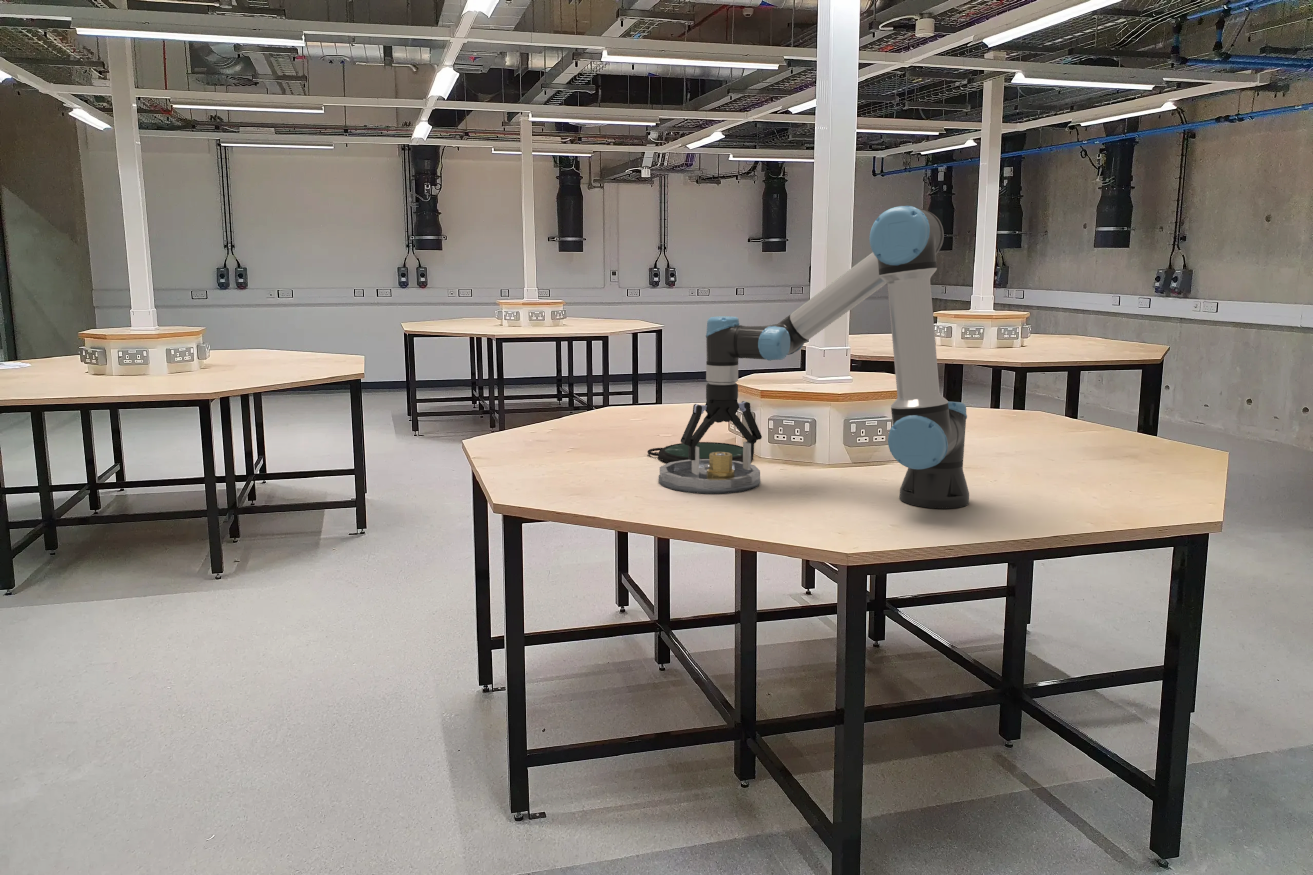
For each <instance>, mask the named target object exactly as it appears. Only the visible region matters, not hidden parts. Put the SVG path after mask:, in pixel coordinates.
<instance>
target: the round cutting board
mask: <svg viewBox="0 0 1313 875" xmlns="http://www.w3.org/2000/svg"><path fill="white" fill-rule="evenodd" d="M696 446H697V447H699V459H709V454H710V453H712V452H728V453H731V454H732V461H740V462H743V445H742V446H741V445H737V444H733V443H727V442H726V443H725V442H714V441H713V442H711V441H699V442H698V444H697V445H696ZM657 451H658V452H657ZM647 454H648V455H650V456H656V457H658V459H659V460H660V461H661V462H664V463H666V464H667V463H669V462H675V461H682V460H689V458H688V445H685V444H683V443H681V442H680V443H675V444H670V445H666V446H664V447H654V448H653V447H652V448H650V449H648V450H647ZM752 460H754V455H752V456H751V461H752Z"/></svg>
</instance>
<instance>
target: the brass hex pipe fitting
mask: <svg viewBox="0 0 1313 875" xmlns="http://www.w3.org/2000/svg"><path fill="white" fill-rule="evenodd" d="M718 453H723V454H725V455H717V454H718ZM726 478H734V470H733V469H732V454H731V453H728V452H712V453H710V454H709V469H708V470H707V479H726Z"/></svg>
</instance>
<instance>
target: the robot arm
mask: <svg viewBox="0 0 1313 875" xmlns="http://www.w3.org/2000/svg"><path fill="white" fill-rule="evenodd" d="M944 233H945V232H944V227H943V225H942V222H941V220H940V219H939V218H938V217H937V216H936V215H935V214H934V213H932V212H930V211H929V210H928V209H927V210H926V209H923V208H917V207H915V206H912V205H899V206H895V207H891V208H889V209H886V210H885V211H883V212H882V213H880V214H879V215H878V217H877V218H876V219H875V220H874V222H873V224H872V226H871V229H870V232H869V246H870V249H871V251H872V252H871V253H870V254H868V255H867V256H866V257H864V258H863V259H861V260H860V261H859V262H857V263H856V264H855V265H853V267H851V268H849V269H848V270H847V271H845V272H844V273H843V274H842V275H840V276H839V277H838V278H837V279H835V280H834V281H832V282H831V283H830V284H828V285H827V286H826V287H824V288H822V290H821V291H819V292H818V293H817V294H815V295H814V296H813V297H811V298H809V299H808V300H807V301H806V302H805V303H803V304H802V305H801V306H799V307H798V308H797V309H795V310H794V311H793V312H791V313H790V314H789V315H788V316H785V317H784V319H782V320H781V321H780V322H778V323H776V324H769V325H743V324H740V320H739V318H738V316H731V315H730V316H729V315H728V316H727V315H726V316H725V315H723V316H722V315H721V316H710V317H709V318H708V319H707V321H706V333H705V334H706V335H705V340H706V364H705V368H706V369H705V370H706V371H705V374H706V375H705V381H707V382H708V383H706V385H705V399H706V400H705V401H706V402H705V403H704V405H703V404H698V403H694V404H693V406H692V407H693V408H692V414H691V416H690V418H689V421H688V423H687V425H686V427H685V430H684V432H683V434H682V436H681V438H680V443H683V444H685V445H688V458H689V460H692V473H694V474H696V475H699V447H697V446H696V445H697V444H698V442H701V440H702V438H703V437H704V436H705V435H706V433H707V432H708V431H709V429H710V427H712V426H713V425H714V424H715V423H717V424H718V423H723V422H725V423H729V422H731V423H732V424H733V425H734V426H735V427H736V429H737V430H738V431H739V433H740V434H741V435H742V436H743V438H744V439H745V440H746V441H742V447H743V468H744V469H746V470H751V465H752V463H751V462H752V460H751V456H752V455H753V456H754V455H755V444H756V443H757V441H758V440H762V438H763V436H762V434H761V431H760V429H759V427H758V424H757V423H756V420H755V417H754V416H753V414H752V411H751V410H752V408H751V403H750V402H749V401H745V400H742V401H741V402H738V398H739V385H738V384H737V382H739V359H751V360H753V359H754V360H766V361H781V360H785V359H786V357H787V356H789V355H792V354H794V353H797V352H798V351H800V350H801V349H802V348H803V346H804V345H805V343H807V342H808V341H809V340H811V338H813V337H814V336H816V335H817V334H819V333H820V332H821V331H823V330H824V329H825V328H827V327H829V326H830V325H831V324H832V323H834V322H835V321H837V320H838V319H839V318H840V317H843V315H845V314H847V313H848V312H849V311H851V310H852V309H854V308H855V307H856V306H858V305H859V304H860V303H862V302H863V301H864V300H866V299H868V298H869V297H870V296H872V295H873V294H874V293H875V292H877V291H879V290H880V289H881V288H883V287H884V286H887V296H888V305H889V306H888V307H889V317H890V319H889V320H890V329H891V339H892V350H893V362H894V363H893V364H894V372H895V374H894V375H895V381H896V382H895V383H896V384H895V385H896V395H897V398H896V399H895V401H894V402H893V403H892V404H891V405H890V409H891V411H890V413H891V420H892V422H891V423H892V426H891V427H890V429H889V432H888V437H887V445H888V449H889V452H890V454H891V456H892V457H893V458H894V459H895V460H896V461H897V463H899V464H900V465H902V467H903V466H904V467H905V468H907V470H906V473H905V476H904V478H903V480H902V482H901V485H900V488H899V498H898V499H899V500H900V501H901V502H903V503H905V504H908V505H912V506H916V507H922V508H927V509H928V508H930V509H943V510H944V509H946V510H947V509H959V508H963V507H966V506H968V505H969V503H970V491H969V488H968V484H967V479H966V478H965V474H964V456H965V455H964V454H965V440H966V439H965V438H966V426H967V419H968V415H967V406H966V404H965V403H963V402H960V401H948V400H947V398H945V397H944V396H943V395H942V394H941V393H940V381H939V371H938V370H939V369H938V367H939V366H938V358H937V348H936V334H935V333H936V332H935V324H934V323H935V322H934V312H933V311H934V309H933V301H932V300H933V299H932V297H933V296H932V289H931V287H932V286H931V278H932V277H933V275H934V273H936V271H937V270H938V267H937V266H938V265H937V255H938V253H939V252H940V250H941V248H942V246H943V243H944V238H945V236H944ZM739 410H740V411H741V413H742V415H743V418H744V420H745V423H746V425H747V426H748V428H749V430H750V431H749V430H748V428H747V427H746V426H745V424H743V422H742V421H741V418H740V417H739V416H738V415H737V412H738V411H739ZM704 412H706V415H705V417H704V418H703V420H702V422H701V423H700V425H699V426H698V424H699V421H700V420H701V418H702V415H703V414H704ZM697 427H698V428H697Z"/></svg>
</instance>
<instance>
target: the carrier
mask: <svg viewBox="0 0 1313 875" xmlns="http://www.w3.org/2000/svg"><path fill="white" fill-rule="evenodd" d="M717 455H725V454H723V453H718V454H717ZM708 469H709V459H699V475H696V474H694V473H692V460H682V461H675V462H669V463H666V464H663V465H661V466H659V475H658V484H659V485H660V486H662V487H663V488H666V489H669V490H672V491H676V492H680V493H681V492H682V493H689V494H699V495H701V494H702V495H722V494H723V495H726V494H736V493H744V492H747V491H752V490H755V489H757V488H758V487H759V486H760V485H761V470H760V469H759V468H758V467H757V466H756V465H755V464H751V470H746V469H744V468H743V462H740V461H732V469H733V470H734V478H726V479H707V470H708Z"/></svg>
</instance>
